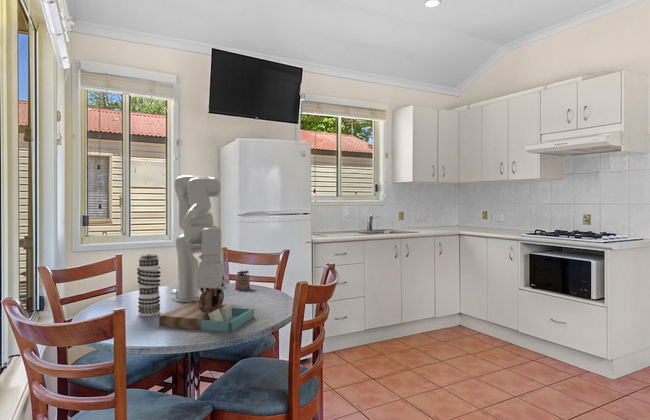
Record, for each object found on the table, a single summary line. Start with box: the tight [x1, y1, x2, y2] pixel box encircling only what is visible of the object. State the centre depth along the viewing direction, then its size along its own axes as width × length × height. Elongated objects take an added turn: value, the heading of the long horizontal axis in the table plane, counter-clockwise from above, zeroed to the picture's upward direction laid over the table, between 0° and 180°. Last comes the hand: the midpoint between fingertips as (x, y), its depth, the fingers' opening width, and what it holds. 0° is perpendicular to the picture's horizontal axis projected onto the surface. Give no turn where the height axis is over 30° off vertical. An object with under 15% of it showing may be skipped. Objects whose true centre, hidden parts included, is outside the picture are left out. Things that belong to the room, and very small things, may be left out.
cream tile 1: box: [208, 309, 223, 321], centre depth 157 cm, size 5×5×2 cm
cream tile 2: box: [221, 304, 233, 321], centre depth 164 cm, size 5×5×2 cm
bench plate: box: [158, 302, 225, 331], centre depth 164 cm, size 18×20×4 cm
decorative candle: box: [136, 253, 162, 317], centre depth 173 cm, size 9×9×25 cm
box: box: [200, 306, 255, 333], centre depth 160 cm, size 12×20×4 cm, turn 166°
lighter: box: [234, 270, 251, 291], centre depth 221 cm, size 8×3×10 cm, turn 117°
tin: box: [198, 287, 225, 313], centre depth 162 cm, size 15×3×8 cm, turn 165°
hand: (211, 304), depth 162 cm, fingers closed on tin, 2 cm apart
